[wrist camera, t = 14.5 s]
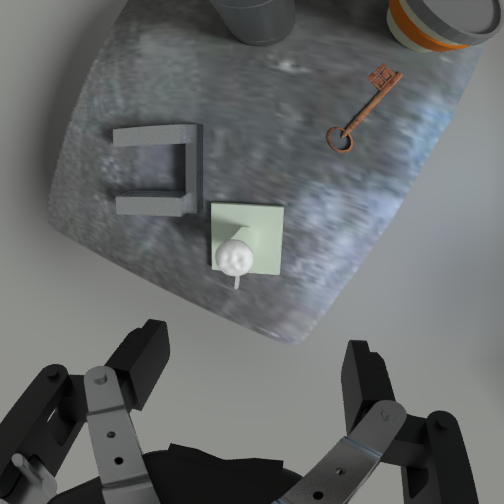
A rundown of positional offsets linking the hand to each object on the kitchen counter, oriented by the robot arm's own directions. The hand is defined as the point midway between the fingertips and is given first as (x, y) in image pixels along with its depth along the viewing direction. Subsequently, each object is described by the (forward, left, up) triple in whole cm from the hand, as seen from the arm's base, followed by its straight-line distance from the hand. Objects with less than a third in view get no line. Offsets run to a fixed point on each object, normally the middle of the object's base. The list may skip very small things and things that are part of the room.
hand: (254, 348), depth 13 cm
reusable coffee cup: (-28, +18, -32) cm, 46 cm away
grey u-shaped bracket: (-4, -18, -32) cm, 37 cm away
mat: (+6, -5, -32) cm, 33 cm away
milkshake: (+6, -5, -31) cm, 32 cm away
